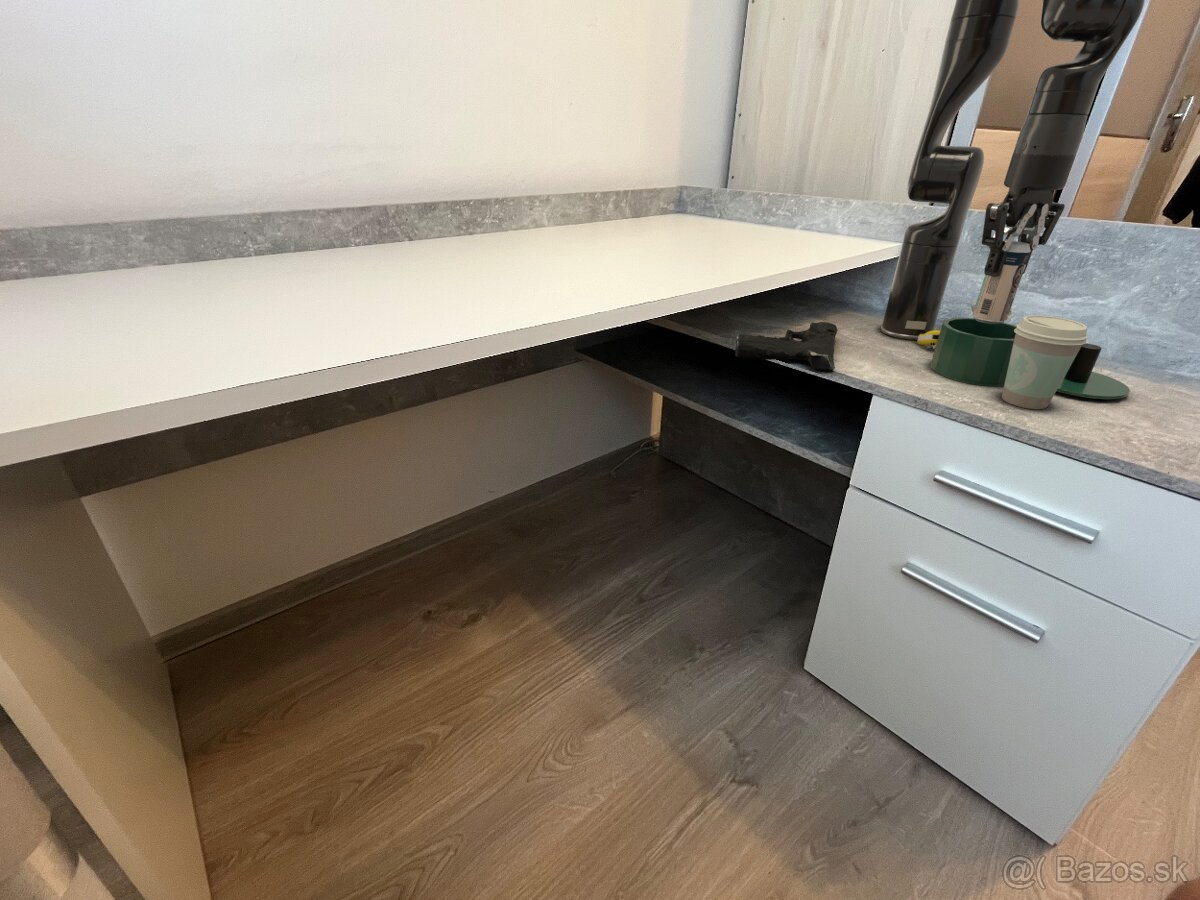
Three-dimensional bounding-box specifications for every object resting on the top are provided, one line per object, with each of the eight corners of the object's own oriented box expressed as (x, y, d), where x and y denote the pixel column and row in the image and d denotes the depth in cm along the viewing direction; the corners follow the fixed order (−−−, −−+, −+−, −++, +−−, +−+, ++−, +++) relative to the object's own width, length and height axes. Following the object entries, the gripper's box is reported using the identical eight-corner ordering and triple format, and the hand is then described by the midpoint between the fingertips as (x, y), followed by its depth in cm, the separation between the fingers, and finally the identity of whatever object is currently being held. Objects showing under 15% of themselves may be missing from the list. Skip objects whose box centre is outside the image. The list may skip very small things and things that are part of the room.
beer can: (1010, 326, 93) (1038, 246, 88) (977, 323, 94) (1003, 244, 89) (998, 318, 98) (1025, 241, 92) (967, 316, 98) (991, 239, 93)
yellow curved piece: (922, 347, 108) (926, 327, 108) (915, 350, 114) (918, 331, 114) (984, 354, 105) (988, 334, 105) (973, 356, 111) (977, 337, 111)
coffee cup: (987, 387, 94) (1013, 311, 88) (1051, 396, 91) (1082, 318, 86) (996, 407, 87) (1025, 326, 81) (1065, 417, 84) (1100, 334, 79)
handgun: (746, 327, 120) (749, 310, 118) (834, 337, 115) (838, 319, 114) (729, 361, 103) (732, 341, 101) (832, 375, 98) (836, 354, 96)
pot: (920, 357, 106) (932, 315, 103) (997, 362, 105) (1012, 320, 101) (944, 382, 95) (958, 336, 92) (1030, 389, 94) (1048, 342, 90)
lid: (1008, 368, 102) (1022, 330, 99) (1096, 374, 100) (1113, 336, 97) (1046, 398, 90) (1063, 356, 87) (1147, 406, 88) (1168, 364, 85)
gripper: (1036, 151, 79) (993, 282, 87) (1105, 153, 84) (1058, 277, 92) (985, 150, 85) (949, 272, 93) (1051, 151, 90) (1012, 268, 98)
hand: (1003, 274), depth 93 cm, fingers closed on beer can, 4 cm apart
